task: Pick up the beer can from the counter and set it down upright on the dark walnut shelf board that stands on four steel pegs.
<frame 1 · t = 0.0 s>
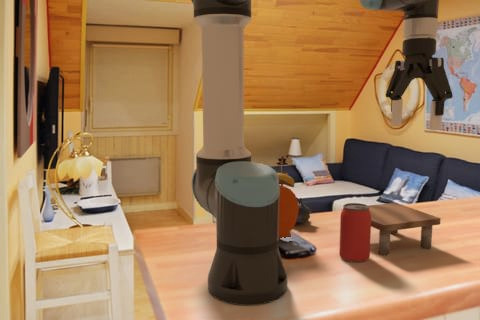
hand: (414, 127, 113), 28 cm above the table, fingers open, 13 cm apart
alarm clock: (270, 242, 115), on the table
frog: (293, 223, 131), on the table
beer can: (354, 259, 103), on the table
peg shelf: (388, 242, 114), on the table
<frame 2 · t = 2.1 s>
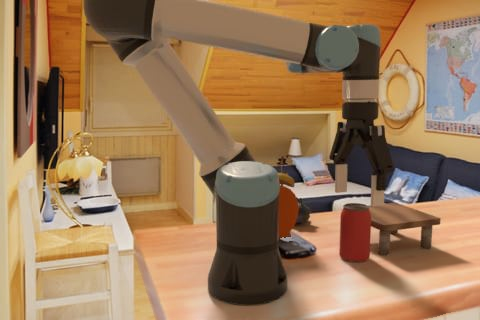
hand: (358, 198, 101), 14 cm above the table, fingers open, 13 cm apart
nothing on the table moved.
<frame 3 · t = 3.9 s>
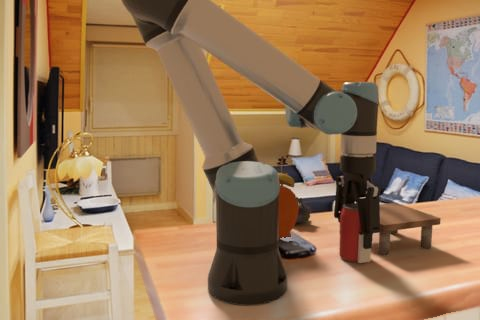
hand: (354, 255, 103), 0 cm above the table, fingers closed on beer can, 7 cm apart
beer can: (354, 258, 103), on the table, touching gripper
everything else where it was.
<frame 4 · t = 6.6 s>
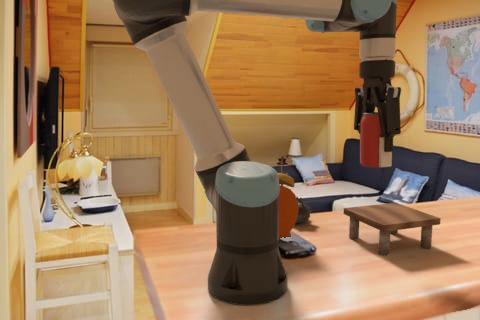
hand: (375, 163, 104), 21 cm above the table, fingers closed on beer can, 7 cm apart
beer can: (375, 166, 104), point 20 cm above the table, touching gripper
everything else where it was.
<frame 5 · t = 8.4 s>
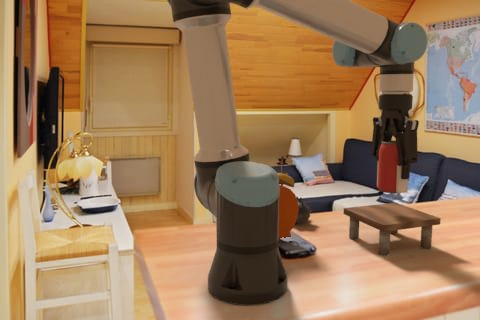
hand: (391, 189, 112), 13 cm above the table, fingers closed on beer can, 7 cm apart
beer can: (391, 191, 112), point 13 cm above the table, touching gripper
everything else where it was.
when the fingers open (9 cm above the table, at t = 9.5 s): beer can drops 1 cm, resting on peg shelf.
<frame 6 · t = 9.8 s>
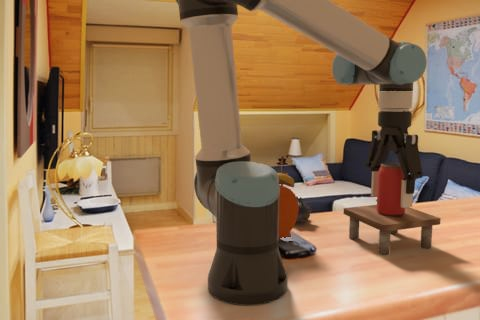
hand: (390, 201, 112), 10 cm above the table, fingers open, 10 cm apart
beer can: (390, 213, 112), point 7 cm above the table, touching peg shelf
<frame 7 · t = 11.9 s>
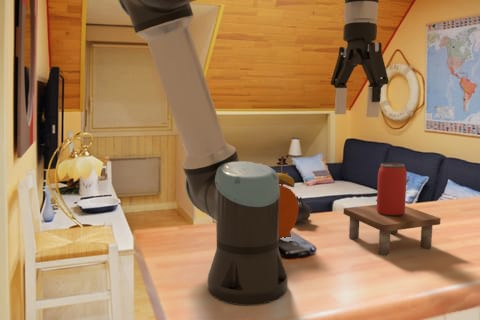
hand: (355, 115, 110), 31 cm above the table, fingers open, 13 cm apart
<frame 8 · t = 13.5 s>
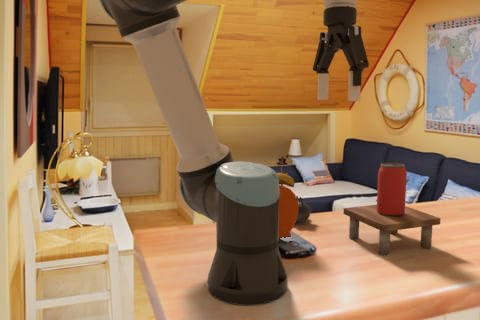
hand: (337, 100, 110), 35 cm above the table, fingers open, 13 cm apart
at the end: beer can inside the target area on the peg shelf (0.2 cm from its centre), point 7.3 cm above the peg shelf's base; beer can tilted 0°; beer can touching peg shelf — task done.
